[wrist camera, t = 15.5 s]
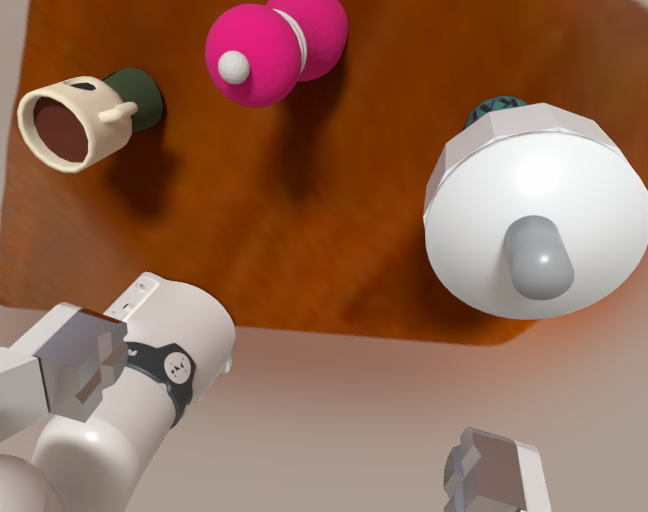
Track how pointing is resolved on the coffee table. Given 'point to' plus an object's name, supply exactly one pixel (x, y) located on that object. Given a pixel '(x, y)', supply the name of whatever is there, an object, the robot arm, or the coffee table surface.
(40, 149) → the character mug
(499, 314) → the cap
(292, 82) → the pepper mill
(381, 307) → the coffee table surface
